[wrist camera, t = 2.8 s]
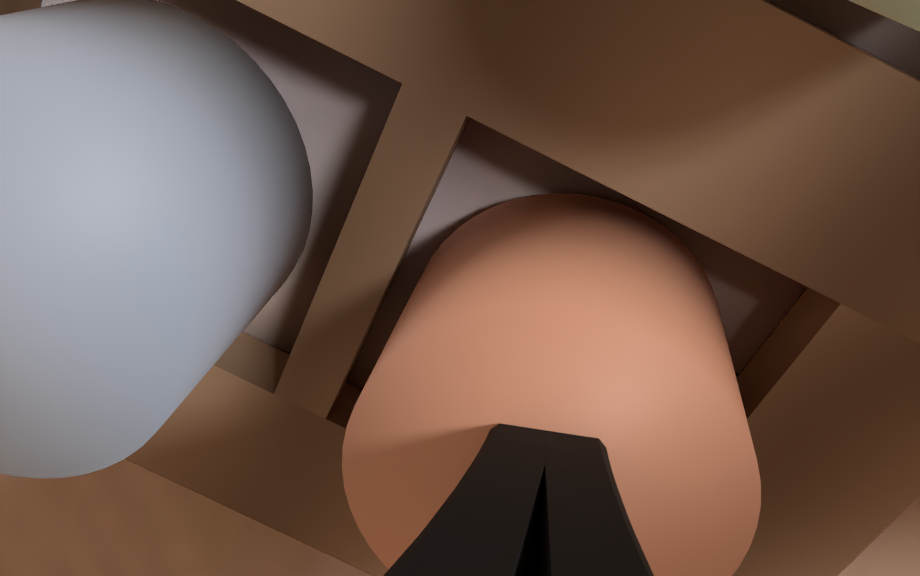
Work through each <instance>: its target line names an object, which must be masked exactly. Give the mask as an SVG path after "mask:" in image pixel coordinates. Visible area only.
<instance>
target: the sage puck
mask: <svg viewBox="0 0 920 576" xmlns="http://www.w3.org/2000/svg"><path fill="white" fill-rule="evenodd" d="M849 1H851V2H853V3H855V4H858V5H860V6H862V7H864V8H867V9H869V10H871V11H873V12H876V13H878V14H880V15H882V16H885V17H887V18H889V19H891V20H894V21H896V22H898V23H901V24H903V25H905V26H907V27H910V28H912V29H914V30H916V31H919V32H920V0H849Z"/></svg>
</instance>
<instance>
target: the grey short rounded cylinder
mask: <svg viewBox="0 0 920 576" xmlns="http://www.w3.org/2000/svg"><path fill="white" fill-rule="evenodd" d="M312 202H313V189H312V180H311V171H310V166H309V162H308V157H307V153H306V149H305V145H304V143H303V140H302V137H301V135H300V132H299V129H298V127H297V124H296V122H295V120H294V118H293V116H292V114H291V112H290V110H289V108H288V106H287V105H286V103H285V101H284V99H283V98H282V96H281V95H280V93H279V92H278V90H277V89H276V87H275V86H274V84H273V83H272V81H271V80H270V79H269V78H268V76H267V75H266V74H265V73H264V72H263V70H262V69H261V68H260V67H259V66H258V65H257V63H256V62H255V61H254V60H253V59H252V58H251V57H250V56H249V55H248V54H247V53H246V52H245V51H243V50H242V49H241V48H240V47H239V46H238V45H237V44H236V43H235V42H234V41H232V40H231V39H230V38H228V37H227V36H225V35H224V34H223V33H221V32H220V31H219V30H217V29H216V28H215V27H213V26H211V25H210V24H208V23H206V22H204V21H203V20H201V19H199V18H197V17H196V16H194V15H192V14H190V13H187V12H185V11H183V10H180V9H178V8H176V7H173V6H171V5H168V4H164V3H160V2H157V1H153V0H77V1H72V2H67V3H61V4H56V5H51V6H46V7H41V8H36V9H30V10H25V11H20V12H15V13H10V14H4V15H0V474H5V475H10V476H16V477H26V478H36V479H44V478H66V477H72V476H79V475H85V474H88V473H92V472H95V471H98V470H101V469H105V468H107V467H109V466H111V465H113V464H115V463H117V462H120V461H122V460H124V459H125V458H127V457H128V456H130V455H131V454H132V453H134V452H135V451H137V450H138V449H139V448H141V447H142V446H143V445H144V444H145V443H146V442H147V441H148V440H149V439H150V438H151V437H152V436H153V435H154V434H155V433H156V432H157V431H158V430H159V428H160V427H161V426H162V425H163V424H164V423H165V421H166V420H167V419H168V418H169V417H170V416H171V414H172V413H173V412H174V411H175V410H176V409H177V407H178V406H179V405H180V404H181V403H182V402H183V400H184V399H185V398H186V397H187V396H188V395H189V393H190V392H191V391H192V390H193V389H194V388H195V386H196V385H197V384H198V383H199V382H200V381H201V379H202V378H203V377H204V376H205V375H206V374H207V372H208V371H209V370H210V369H211V368H212V367H213V365H214V364H215V363H216V362H217V361H218V360H219V358H220V357H221V356H222V355H223V354H224V352H225V351H226V350H227V349H228V348H229V347H230V345H231V344H232V343H233V342H234V341H235V340H236V338H237V337H238V336H239V335H240V334H241V333H242V331H243V330H244V329H245V328H246V327H247V326H248V324H249V323H250V322H251V321H252V320H253V319H254V317H255V316H256V315H257V314H258V313H259V312H260V310H261V309H262V308H263V307H264V306H265V305H266V303H267V302H268V301H269V300H270V299H271V298H272V296H273V295H274V294H275V293H276V292H277V291H278V289H279V288H280V287H281V286H282V285H283V283H284V282H285V281H286V280H287V278H288V277H289V275H290V274H291V272H292V271H293V269H294V268H295V267H296V264H297V262H298V260H299V258H300V256H301V254H302V252H303V250H304V247H305V244H306V240H307V237H308V234H309V230H310V223H311V217H312Z"/></svg>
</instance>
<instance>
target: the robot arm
mask: <svg viewBox="0 0 920 576" xmlns="http://www.w3.org/2000/svg"><path fill="white" fill-rule="evenodd" d="M548 433H549V434H548ZM383 576H654V575H653V572H652V570H651V568H650V566H649V563H648V561H647V559H646V557H645V555H644V552H643V550H642V548H641V546H640V543H639V541H638V539H637V537H636V534H635V532H634V530H633V527H632V525H631V522H630V520H629V517H628V515H627V512H626V509H625V507H624V504H623V501H622V499H621V496H620V493H619V490H618V487H617V484H616V481H615V478H614V475H613V472H612V469H611V465H610V461H609V457H608V453H607V448H606V447H605V445H604V444H603V443H602V442H601V440H600V439H599V438H593V437H586V436H580V435H573V434H566V433H559V432H553V431H546V430H540V429H533V428H527V427H520V426H514V425H507V424H501V423H500V424H498V425H496V426H495V427H493V428H492V429H490V431H489V433H488V435H487V438H486V439H485V441H484V443H483V445H482V447H481V449H480V450H479V452H478V454H477V456H476V457H475V459H474V460H473V462H472V464H471V465H470V467H469V468H468V470H467V471H466V473H465V474H464V476H463V477H462V479H461V480H460V482H459V483H458V485H457V486H456V487H455V489H454V490H453V491H452V493H451V494H450V495H449V497H448V498H447V499H446V501H445V502H444V503H443V505H442V506H441V507H440V509H439V510H438V511H437V513H436V514H435V515H434V517H433V518H432V519H431V520H430V522H429V523H428V524H427V526H426V527H425V528H424V529H423V531H422V532H421V533H420V534H419V535H418V537H417V538H416V539H415V540H414V541H413V542H412V544H411V545H410V546H409V547H408V548H407V549H406V550H405V551H404V553H403V554H402V555H401V556H400V557H399V558H398V559H397V561H396V562H395V563H394V564H393V565H392V566H391V567H390V569H389V570H388V571H387V572H386V573H385V574H384V575H383Z"/></svg>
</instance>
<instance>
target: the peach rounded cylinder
mask: <svg viewBox="0 0 920 576" xmlns="http://www.w3.org/2000/svg"><path fill="white" fill-rule="evenodd" d="M500 423H501V424H507V425H514V426H520V427H527V428H533V429H540V430H546V431H553V432H559V433H566V434H573V435H580V436H586V437H593V438H599V439H600V440H601V442H602V443H603V444H604V445H605V447H606V448H607V453H608V457H609V461H610V465H611V469H612V472H613V475H614V478H615V481H616V484H617V487H618V490H619V493H620V496H621V499H622V501H623V504H624V507H625V509H626V512H627V515H628V517H629V520H630V522H631V525H632V527H633V530H634V532H635V534H636V537H637V539H638V541H639V543H640V546H641V548H642V550H643V552H644V555H645V557H646V559H647V561H648V563H649V566H650V568H651V570H652V572H653V575H654V576H732V575H733V574H734V572H735V571H736V570H737V569H738V567H739V566H740V564H741V562H742V560H743V559H744V557H745V555H746V553H747V552H748V550H749V548H750V545H751V543H752V540H753V537H754V534H755V531H756V529H757V525H758V519H759V513H760V508H761V480H760V474H759V469H758V463H757V458H756V454H755V450H754V446H753V442H752V438H751V434H750V430H749V426H748V422H747V418H746V414H745V410H744V406H743V403H742V399H741V395H740V391H739V387H738V383H737V379H736V375H735V371H734V367H733V363H732V359H731V355H730V351H729V347H728V343H727V340H726V336H725V332H724V328H723V324H722V320H721V316H720V312H719V308H718V304H717V301H716V298H715V295H714V292H713V289H712V286H711V284H710V282H709V280H708V278H707V276H706V274H705V273H704V271H703V269H702V267H701V266H700V264H699V263H698V261H697V260H696V259H695V257H694V256H693V255H692V253H691V252H690V251H689V250H688V249H687V248H686V246H685V245H684V244H683V243H682V242H681V241H680V240H679V239H678V238H677V237H676V236H675V235H673V234H672V233H671V232H670V231H668V230H667V229H666V228H664V227H663V226H662V225H661V224H659V223H658V222H656V221H654V220H653V219H651V218H649V217H648V216H646V215H644V214H642V213H641V212H639V211H636V210H634V209H632V208H629V207H627V206H625V205H622V204H620V203H617V202H613V201H610V200H606V199H603V198H599V197H593V196H587V195H580V194H563V193H551V194H541V195H532V196H527V197H523V198H518V199H514V200H510V201H508V202H505V203H502V204H499V205H497V206H494V207H491V208H489V209H488V210H486V211H484V212H482V213H480V214H478V215H476V216H474V217H473V218H471V219H470V220H468V221H467V222H466V223H464V224H463V225H461V226H460V227H459V228H457V229H456V230H455V231H454V232H453V233H452V234H451V235H450V236H449V237H448V238H447V239H446V240H445V241H444V242H443V243H442V244H441V245H440V247H439V248H438V249H437V250H436V252H435V253H434V254H433V255H432V257H431V259H430V260H429V262H428V264H427V266H426V267H425V269H424V271H423V273H422V275H421V277H420V279H419V280H418V282H417V284H416V286H415V288H414V290H413V292H412V294H411V296H410V298H409V300H408V302H407V304H406V306H405V308H404V310H403V312H402V314H401V316H400V318H399V320H398V322H397V324H396V326H395V328H394V330H393V331H392V333H391V335H390V337H389V339H388V341H387V343H386V345H385V347H384V349H383V351H382V353H381V355H380V357H379V359H378V361H377V363H376V365H375V367H374V369H373V371H372V373H371V375H370V377H369V379H368V381H367V382H366V384H365V386H364V388H363V390H362V392H361V394H360V396H359V398H358V400H357V402H356V404H355V406H354V409H353V411H352V414H351V416H350V419H349V422H348V424H347V428H346V432H345V437H344V442H343V449H342V473H343V482H344V489H345V493H346V496H347V500H348V504H349V507H350V510H351V512H352V515H353V517H354V519H355V521H356V524H357V526H358V528H359V530H360V532H361V533H362V535H363V537H364V538H365V540H366V542H367V543H368V545H369V547H370V548H371V549H372V550H373V552H374V553H375V554H376V556H377V557H378V558H379V559H380V561H381V562H382V563H383V564H384V565H385V566H386V567H387V568H388V569H390V567H391V566H392V565H393V564H394V563H395V562H396V561H397V559H398V558H399V557H400V556H401V555H402V554H403V553H404V551H405V550H406V549H407V548H408V547H409V546H410V545H411V544H412V542H413V541H414V540H415V539H416V538H417V537H418V535H419V534H420V533H421V532H422V531H423V529H424V528H425V527H426V526H427V524H428V523H429V522H430V520H431V519H432V518H433V517H434V515H435V514H436V513H437V511H438V510H439V509H440V507H441V506H442V505H443V503H444V502H445V501H446V499H447V498H448V497H449V495H450V494H451V493H452V491H453V490H454V489H455V487H456V486H457V485H458V483H459V482H460V480H461V479H462V477H463V476H464V474H465V473H466V471H467V470H468V468H469V467H470V465H471V464H472V462H473V460H474V459H475V457H476V456H477V454H478V452H479V450H480V449H481V447H482V445H483V443H484V441H485V439H486V438H487V435H488V433H489V431H490V429H492V428H493V427H495V426H496V425H498V424H500ZM548 434H549V433H548Z"/></svg>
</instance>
